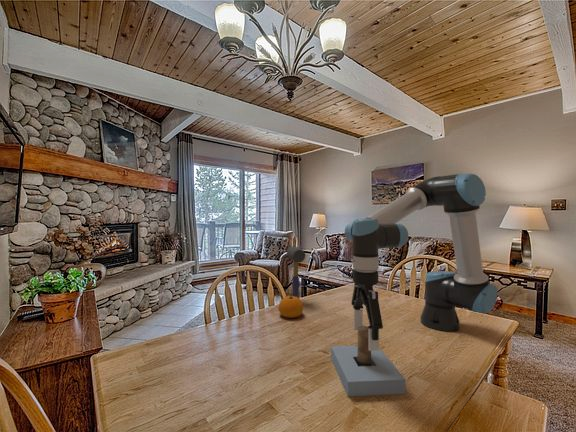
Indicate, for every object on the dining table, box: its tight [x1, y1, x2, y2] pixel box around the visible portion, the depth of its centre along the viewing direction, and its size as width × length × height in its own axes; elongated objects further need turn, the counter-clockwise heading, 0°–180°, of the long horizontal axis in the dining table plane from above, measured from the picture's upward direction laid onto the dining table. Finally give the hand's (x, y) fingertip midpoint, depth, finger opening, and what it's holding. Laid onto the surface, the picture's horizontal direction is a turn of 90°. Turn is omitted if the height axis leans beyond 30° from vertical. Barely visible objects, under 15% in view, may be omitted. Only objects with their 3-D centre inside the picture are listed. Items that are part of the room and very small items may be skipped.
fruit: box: [278, 294, 304, 319], centre depth 136 cm, size 12×12×10 cm
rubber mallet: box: [286, 246, 306, 299], centre depth 153 cm, size 12×8×30 cm, turn 16°
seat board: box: [330, 345, 407, 397], centre depth 88 cm, size 16×20×4 cm
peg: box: [357, 325, 372, 367], centre depth 88 cm, size 4×4×14 cm
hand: (365, 339), depth 88 cm, fingers open, 13 cm apart
